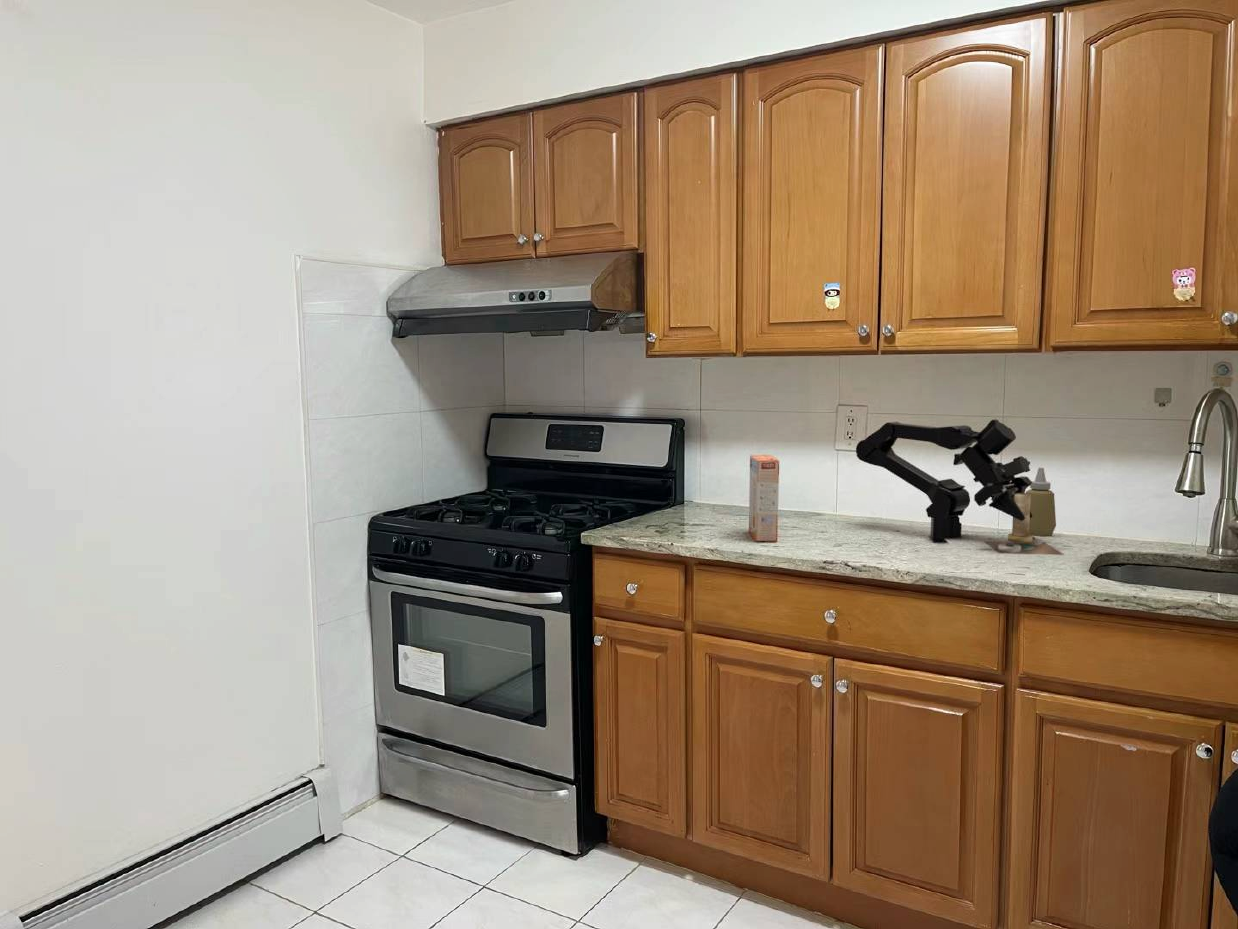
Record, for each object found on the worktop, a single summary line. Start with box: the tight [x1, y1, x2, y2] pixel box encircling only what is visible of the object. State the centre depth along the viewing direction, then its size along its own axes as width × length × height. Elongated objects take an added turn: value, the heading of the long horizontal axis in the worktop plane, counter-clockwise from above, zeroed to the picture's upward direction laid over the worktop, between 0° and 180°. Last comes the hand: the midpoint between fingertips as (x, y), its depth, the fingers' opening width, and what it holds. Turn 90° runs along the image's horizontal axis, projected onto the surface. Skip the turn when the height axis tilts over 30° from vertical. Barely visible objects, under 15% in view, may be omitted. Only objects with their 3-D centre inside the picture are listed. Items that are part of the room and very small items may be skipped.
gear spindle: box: [1007, 492, 1034, 543], centre depth 208 cm, size 5×5×11 cm
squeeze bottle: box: [1025, 467, 1057, 537], centre depth 225 cm, size 8×8×18 cm
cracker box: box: [748, 454, 780, 543], centre depth 229 cm, size 14×6×21 cm, turn 179°
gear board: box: [983, 536, 1065, 556], centre depth 209 cm, size 14×14×3 cm
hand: (1027, 518), depth 207 cm, fingers closed on gear spindle, 3 cm apart
